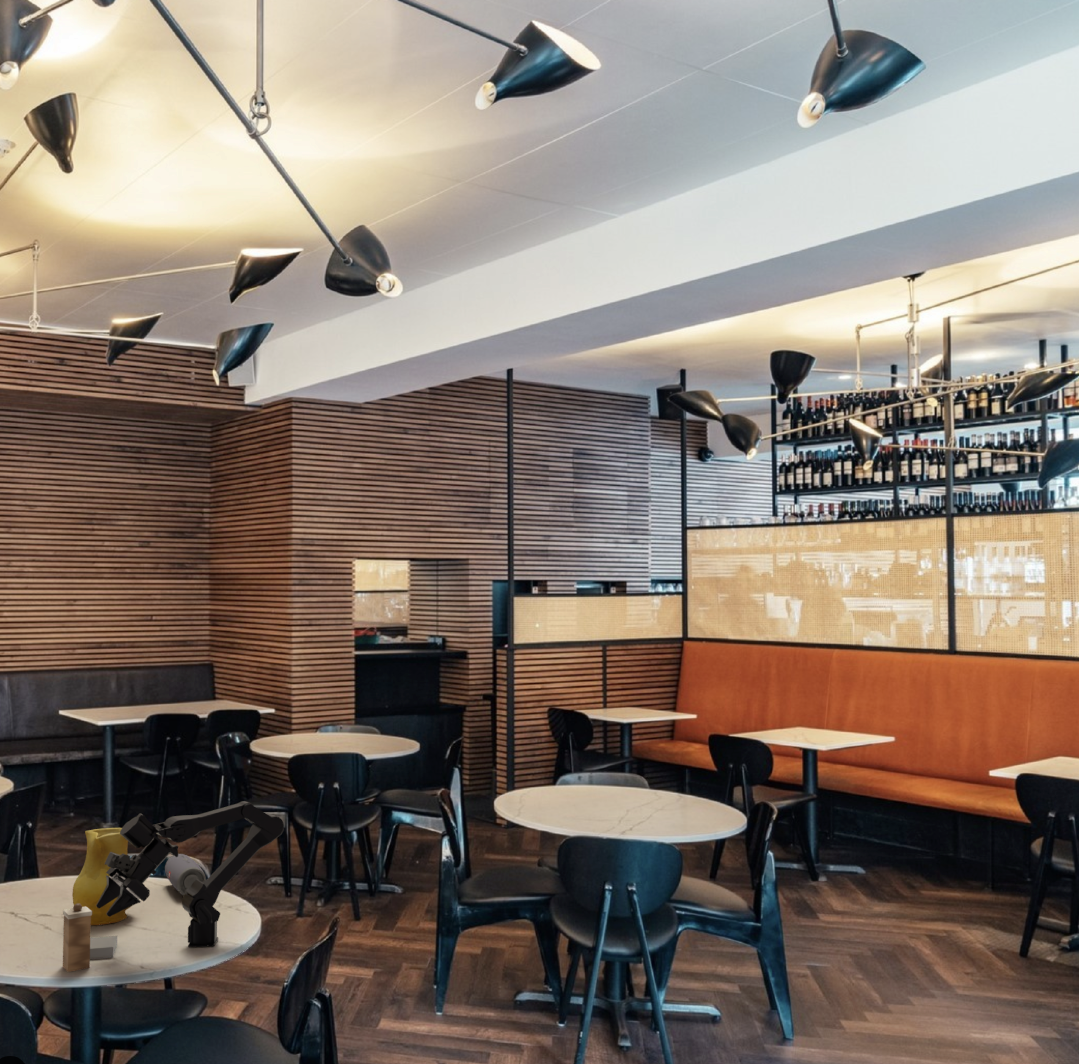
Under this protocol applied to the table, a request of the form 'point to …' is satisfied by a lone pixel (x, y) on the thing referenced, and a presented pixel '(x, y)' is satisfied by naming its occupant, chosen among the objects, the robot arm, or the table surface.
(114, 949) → the stone block
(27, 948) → the table surface
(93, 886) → the pitcher
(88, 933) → the box
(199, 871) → the bluetooth speaker
